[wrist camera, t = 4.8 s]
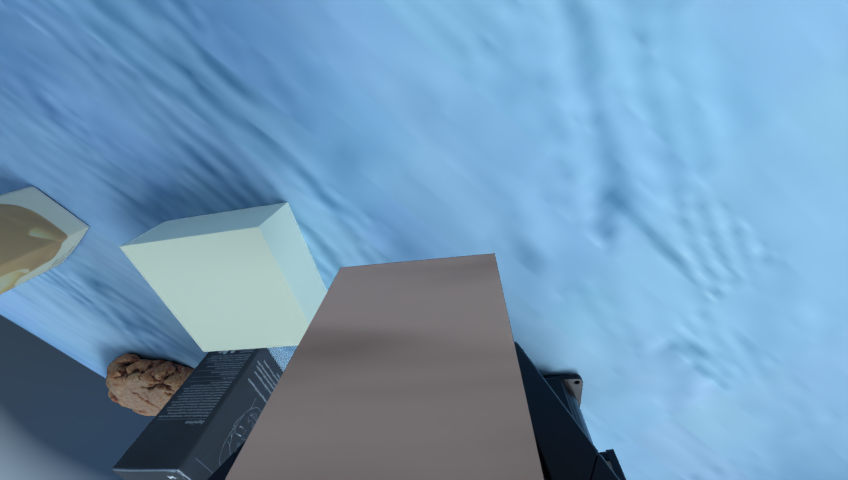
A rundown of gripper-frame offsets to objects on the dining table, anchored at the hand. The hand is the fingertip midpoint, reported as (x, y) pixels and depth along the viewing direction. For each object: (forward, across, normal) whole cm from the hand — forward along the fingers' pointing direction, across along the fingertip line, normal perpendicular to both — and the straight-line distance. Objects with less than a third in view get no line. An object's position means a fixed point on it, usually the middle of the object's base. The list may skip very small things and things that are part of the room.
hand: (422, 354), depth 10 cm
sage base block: (+12, +15, +4) cm, 20 cm away
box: (+12, +21, +16) cm, 29 cm away
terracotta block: (+2, 0, 0) cm, 2 cm away
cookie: (+12, +33, +17) cm, 39 cm away
